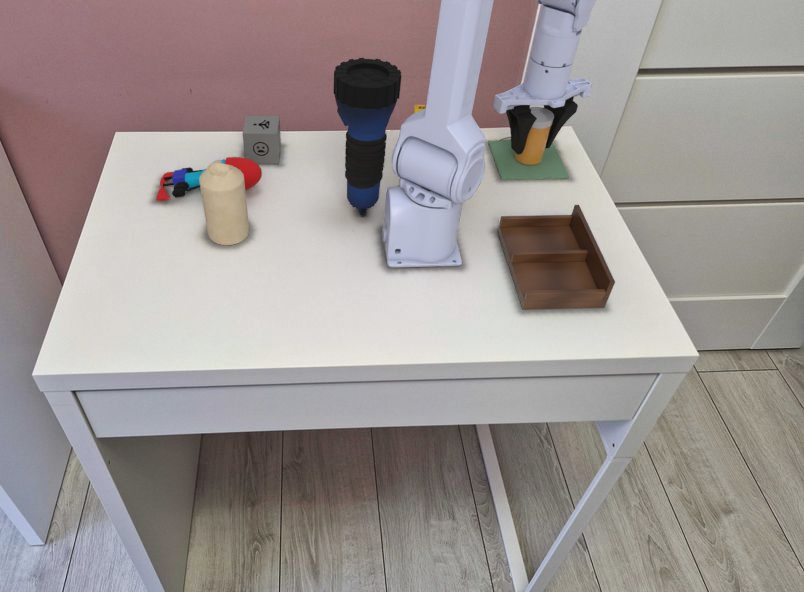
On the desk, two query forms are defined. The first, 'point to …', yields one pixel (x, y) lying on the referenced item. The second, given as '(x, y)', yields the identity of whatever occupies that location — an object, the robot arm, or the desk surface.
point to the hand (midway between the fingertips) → (530, 147)
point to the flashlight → (365, 123)
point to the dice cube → (262, 139)
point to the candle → (224, 203)
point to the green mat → (516, 171)
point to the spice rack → (555, 261)
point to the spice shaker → (536, 137)
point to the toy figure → (190, 179)
